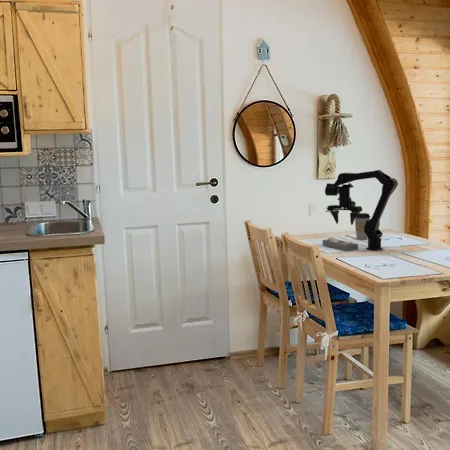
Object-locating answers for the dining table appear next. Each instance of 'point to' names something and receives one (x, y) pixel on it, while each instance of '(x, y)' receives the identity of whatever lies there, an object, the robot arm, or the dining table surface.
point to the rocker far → (333, 240)
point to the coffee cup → (361, 225)
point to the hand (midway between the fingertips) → (344, 224)
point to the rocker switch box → (340, 245)
